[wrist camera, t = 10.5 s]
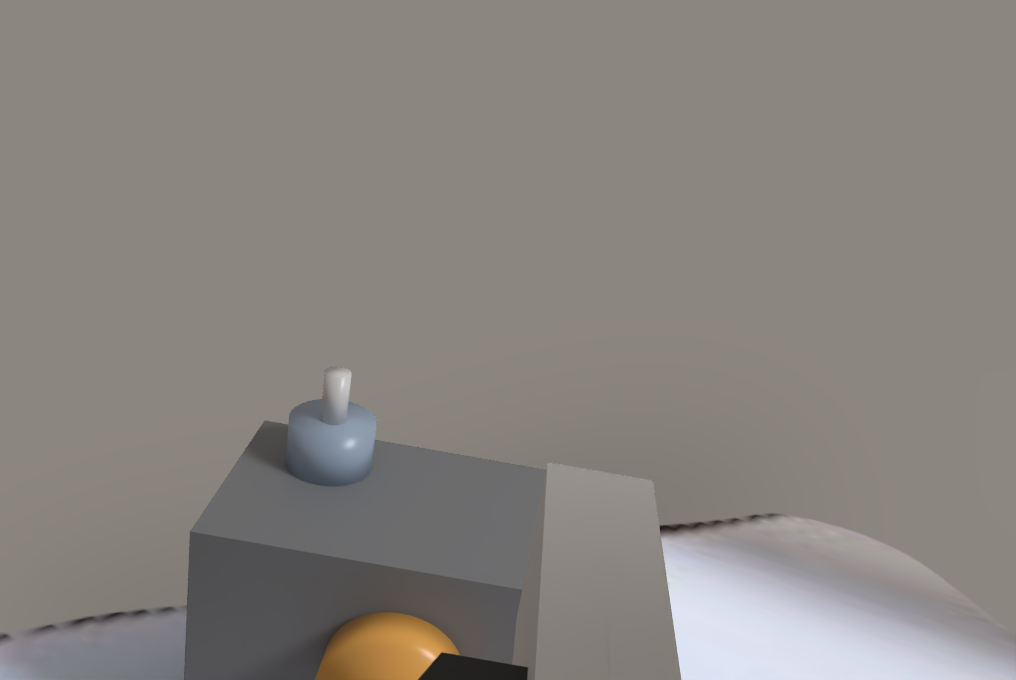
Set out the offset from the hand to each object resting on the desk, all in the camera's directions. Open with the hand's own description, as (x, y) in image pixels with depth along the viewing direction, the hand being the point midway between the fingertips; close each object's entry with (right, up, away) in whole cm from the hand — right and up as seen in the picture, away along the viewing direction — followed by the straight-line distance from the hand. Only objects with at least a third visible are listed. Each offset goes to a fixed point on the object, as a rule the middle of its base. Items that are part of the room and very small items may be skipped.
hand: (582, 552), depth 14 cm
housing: (-7, -17, +35) cm, 39 cm away
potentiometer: (-10, -3, +31) cm, 33 cm away
